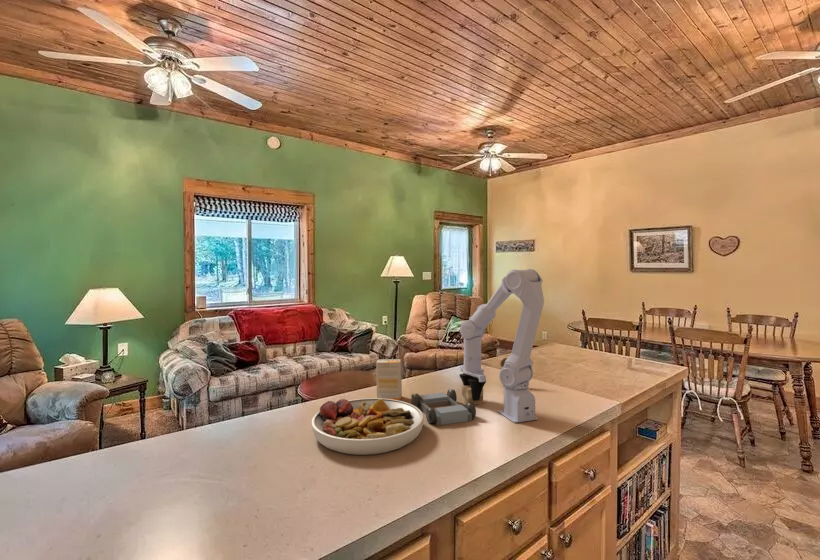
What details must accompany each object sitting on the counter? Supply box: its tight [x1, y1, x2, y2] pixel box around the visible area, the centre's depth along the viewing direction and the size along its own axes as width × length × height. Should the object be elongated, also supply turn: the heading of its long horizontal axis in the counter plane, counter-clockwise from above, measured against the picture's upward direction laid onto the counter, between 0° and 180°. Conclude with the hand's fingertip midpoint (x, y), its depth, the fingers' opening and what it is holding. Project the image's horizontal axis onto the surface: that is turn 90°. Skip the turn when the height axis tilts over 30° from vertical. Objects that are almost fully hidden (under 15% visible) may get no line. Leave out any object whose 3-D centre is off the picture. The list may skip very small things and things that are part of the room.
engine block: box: [461, 385, 484, 405], centre depth 136 cm, size 4×6×5 cm
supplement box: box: [375, 358, 403, 401], centre depth 140 cm, size 8×5×13 cm, turn 84°
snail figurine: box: [499, 357, 508, 370], centre depth 153 cm, size 5×6×12 cm
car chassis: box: [410, 389, 477, 427], centre depth 127 cm, size 19×14×4 cm
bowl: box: [311, 397, 424, 456], centre depth 111 cm, size 30×30×8 cm
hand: (472, 397), depth 136 cm, fingers closed on engine block, 4 cm apart
